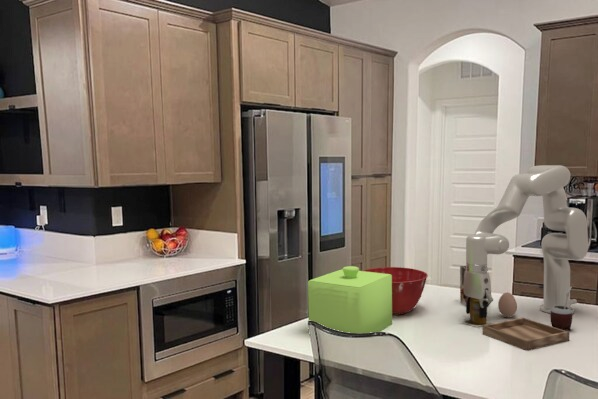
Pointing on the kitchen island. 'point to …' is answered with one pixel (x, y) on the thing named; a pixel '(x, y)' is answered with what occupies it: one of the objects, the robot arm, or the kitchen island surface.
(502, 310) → the egg
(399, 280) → the mixing bowl
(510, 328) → the tray
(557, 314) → the mate gourd
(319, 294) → the canister
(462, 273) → the coffee box
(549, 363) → the kitchen island surface
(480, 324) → the condiment
